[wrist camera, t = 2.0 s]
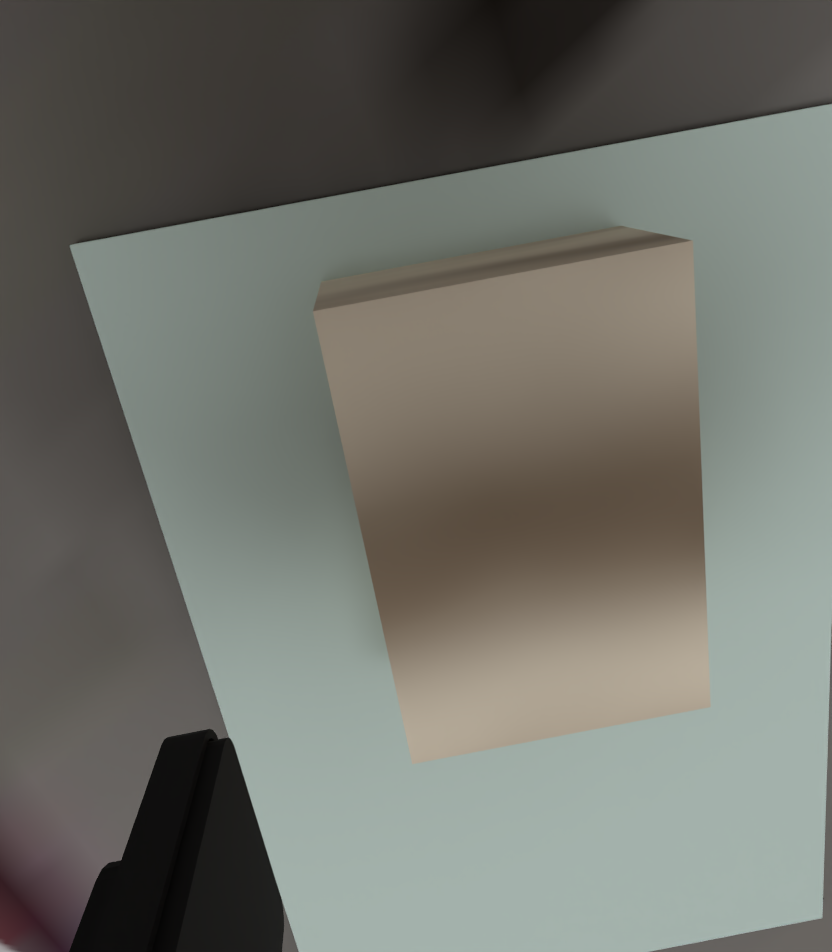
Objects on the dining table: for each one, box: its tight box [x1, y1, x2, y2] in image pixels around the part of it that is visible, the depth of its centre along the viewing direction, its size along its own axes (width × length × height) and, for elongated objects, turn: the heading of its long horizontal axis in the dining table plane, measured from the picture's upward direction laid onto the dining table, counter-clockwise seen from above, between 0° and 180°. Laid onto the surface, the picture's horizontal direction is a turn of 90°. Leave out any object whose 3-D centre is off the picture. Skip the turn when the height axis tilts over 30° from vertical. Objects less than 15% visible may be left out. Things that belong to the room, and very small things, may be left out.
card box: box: [313, 226, 711, 764], centre depth 15 cm, size 9×6×4 cm, turn 9°
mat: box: [69, 104, 832, 952], centre depth 19 cm, size 22×15×1 cm
